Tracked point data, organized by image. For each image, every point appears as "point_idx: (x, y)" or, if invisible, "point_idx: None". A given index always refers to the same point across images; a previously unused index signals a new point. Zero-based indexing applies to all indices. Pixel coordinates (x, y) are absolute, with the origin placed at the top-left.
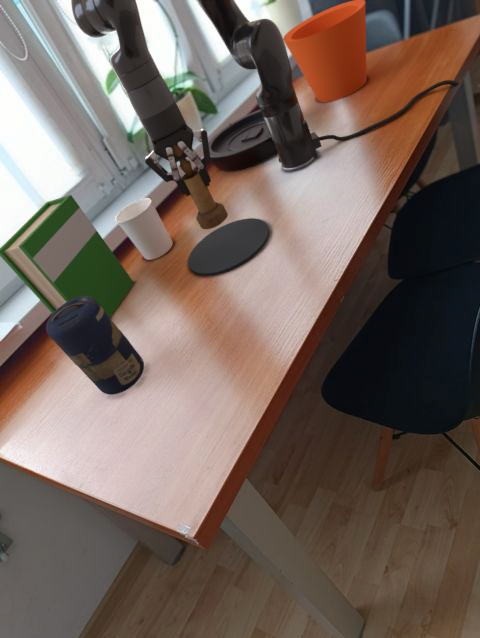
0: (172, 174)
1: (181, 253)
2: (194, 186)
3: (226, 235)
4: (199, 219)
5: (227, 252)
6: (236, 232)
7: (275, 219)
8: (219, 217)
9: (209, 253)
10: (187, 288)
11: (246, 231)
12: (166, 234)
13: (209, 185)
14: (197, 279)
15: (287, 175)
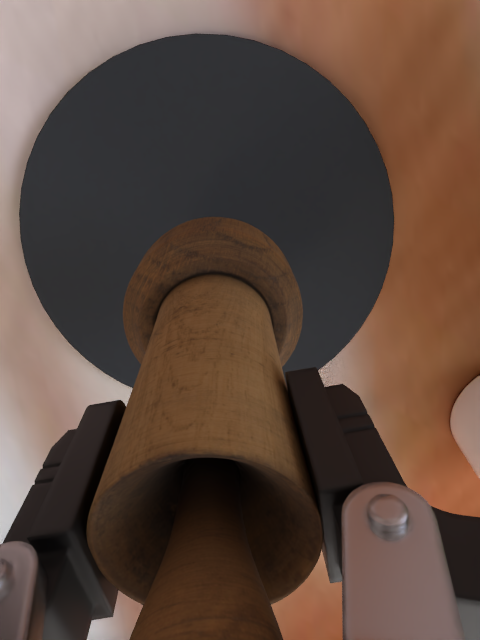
0: (451, 600)
1: (420, 332)
2: (197, 384)
3: None
4: (276, 263)
5: (206, 187)
6: None
7: (21, 332)
8: (152, 248)
9: (293, 233)
10: (406, 18)
11: None
12: (477, 436)
13: (94, 404)
14: (354, 72)
15: None
